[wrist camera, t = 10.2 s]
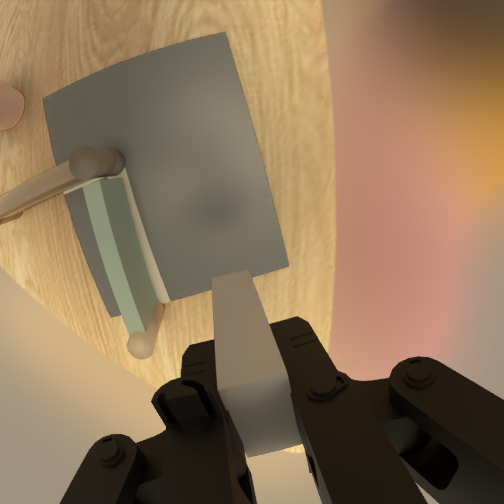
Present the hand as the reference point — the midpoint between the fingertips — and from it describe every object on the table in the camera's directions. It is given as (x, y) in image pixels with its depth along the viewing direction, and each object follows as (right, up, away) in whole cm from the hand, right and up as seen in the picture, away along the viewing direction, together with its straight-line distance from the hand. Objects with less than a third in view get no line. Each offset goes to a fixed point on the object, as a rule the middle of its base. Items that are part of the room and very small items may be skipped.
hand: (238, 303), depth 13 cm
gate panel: (-9, +2, +11) cm, 14 cm away
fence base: (-15, +7, +9) cm, 19 cm away
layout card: (-7, +8, +10) cm, 14 cm away
